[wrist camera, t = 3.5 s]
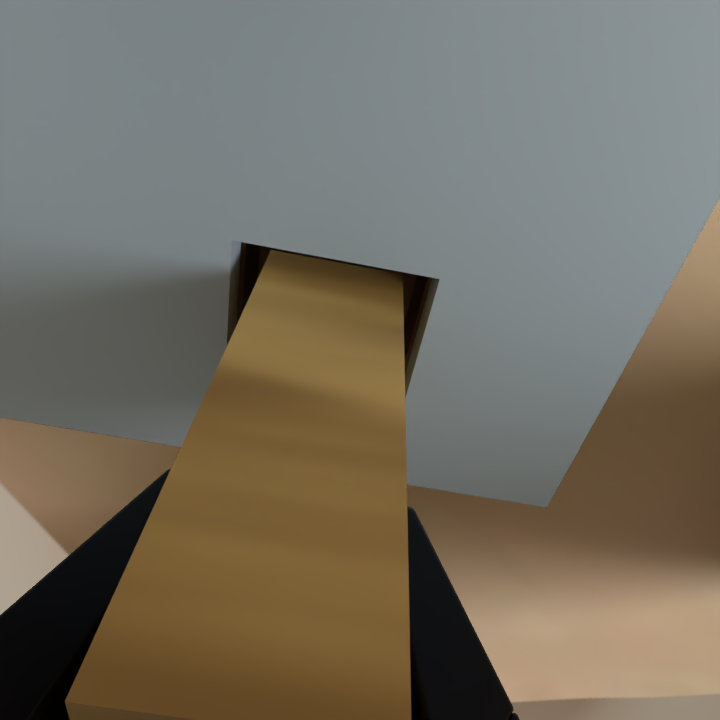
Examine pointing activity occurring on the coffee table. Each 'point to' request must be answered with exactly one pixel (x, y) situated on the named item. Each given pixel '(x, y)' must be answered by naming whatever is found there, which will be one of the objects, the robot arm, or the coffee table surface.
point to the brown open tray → (412, 284)
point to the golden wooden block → (276, 524)
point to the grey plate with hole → (352, 201)
